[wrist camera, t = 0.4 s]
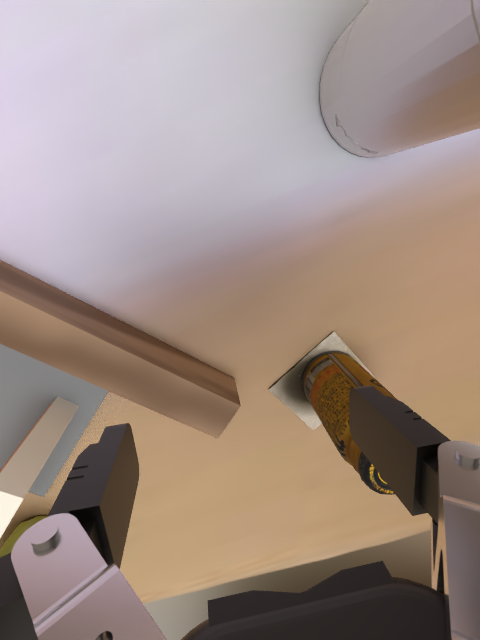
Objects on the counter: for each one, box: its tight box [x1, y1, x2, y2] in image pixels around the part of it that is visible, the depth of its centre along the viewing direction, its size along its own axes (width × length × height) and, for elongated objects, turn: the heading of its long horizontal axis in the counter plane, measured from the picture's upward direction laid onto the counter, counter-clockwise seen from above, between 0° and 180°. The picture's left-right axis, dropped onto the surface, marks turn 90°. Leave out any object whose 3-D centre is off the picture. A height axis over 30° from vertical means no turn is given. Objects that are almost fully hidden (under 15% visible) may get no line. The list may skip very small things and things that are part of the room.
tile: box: [0, 397, 79, 539], centre depth 25 cm, size 10×2×10 cm, turn 146°
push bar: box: [0, 260, 241, 438], centre depth 26 cm, size 4×24×5 cm, turn 58°
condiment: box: [269, 332, 397, 495], centre depth 27 cm, size 7×8×12 cm
